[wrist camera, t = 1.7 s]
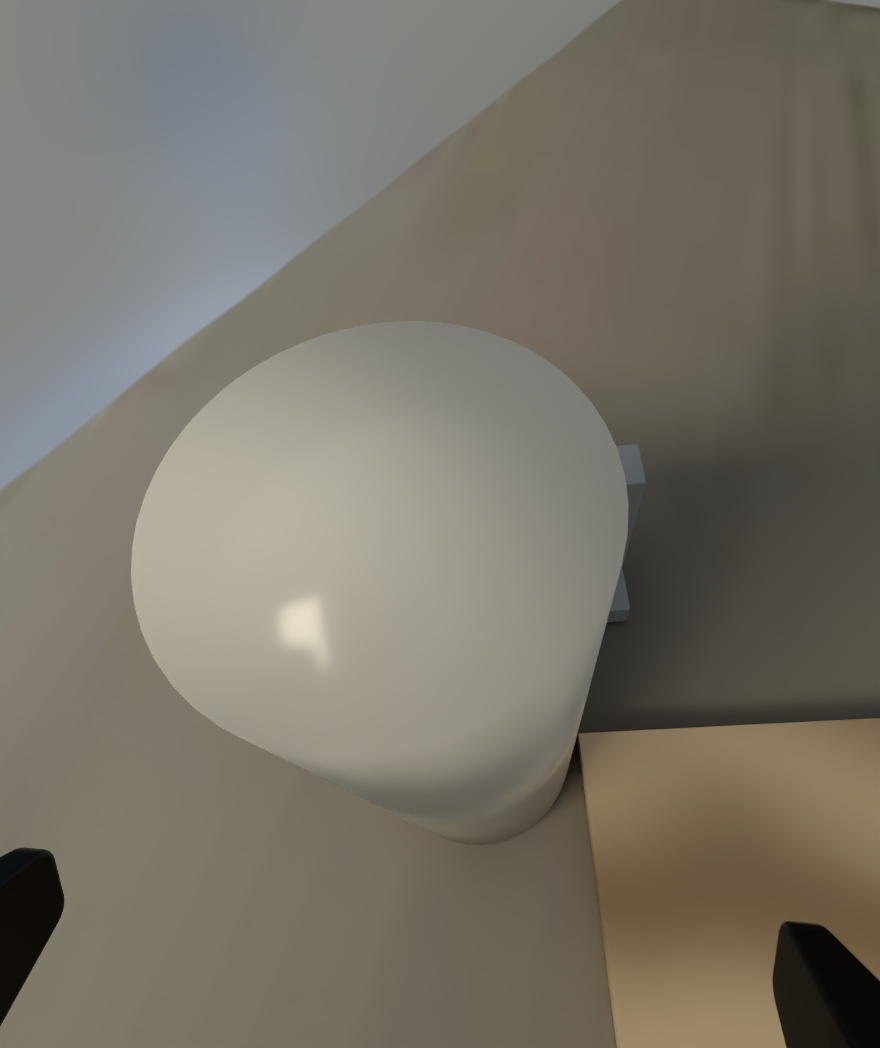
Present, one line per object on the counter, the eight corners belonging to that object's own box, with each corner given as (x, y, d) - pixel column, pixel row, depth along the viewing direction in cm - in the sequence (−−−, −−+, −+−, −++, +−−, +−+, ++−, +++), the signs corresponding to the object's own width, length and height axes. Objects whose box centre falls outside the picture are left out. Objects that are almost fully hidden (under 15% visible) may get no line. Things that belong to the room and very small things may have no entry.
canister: (581, 841, 17) (680, 746, 5) (385, 848, 18) (74, 776, 6) (557, 642, 20) (587, 286, 8) (388, 653, 21) (182, 336, 9)
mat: (1144, 1225, 13) (1170, 1239, 12) (637, 1213, 14) (641, 1225, 13) (939, 719, 18) (950, 714, 17) (577, 737, 19) (578, 733, 18)
